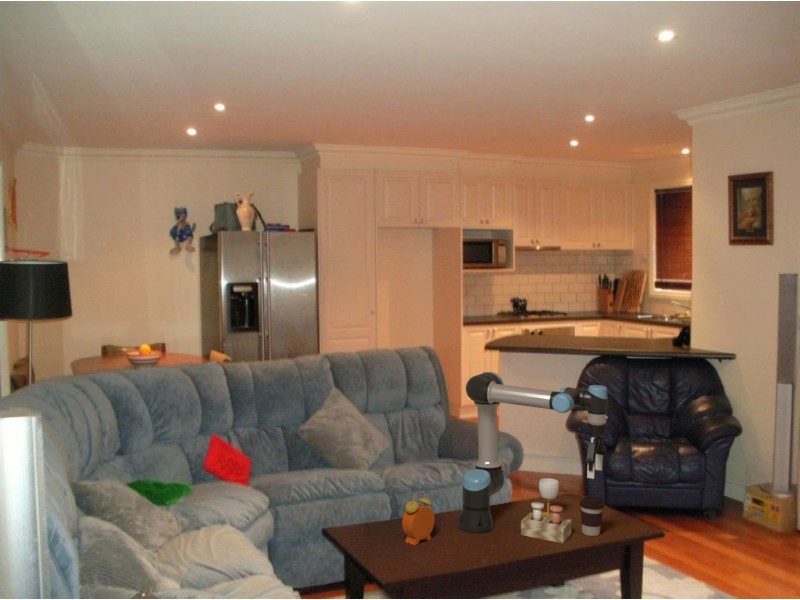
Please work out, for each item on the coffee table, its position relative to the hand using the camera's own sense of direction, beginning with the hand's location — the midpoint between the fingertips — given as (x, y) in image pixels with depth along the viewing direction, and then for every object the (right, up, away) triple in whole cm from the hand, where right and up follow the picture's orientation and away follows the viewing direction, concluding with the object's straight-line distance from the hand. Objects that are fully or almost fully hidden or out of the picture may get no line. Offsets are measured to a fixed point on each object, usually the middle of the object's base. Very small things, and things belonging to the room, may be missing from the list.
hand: (594, 474), depth 307 cm
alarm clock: (-73, -26, -4) cm, 78 cm away
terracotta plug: (-16, -23, +3) cm, 28 cm away
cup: (-14, -26, +27) cm, 40 cm away
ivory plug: (-23, -22, +7) cm, 32 cm away
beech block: (-19, -27, +5) cm, 33 cm away
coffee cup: (0, -27, +7) cm, 28 cm away
